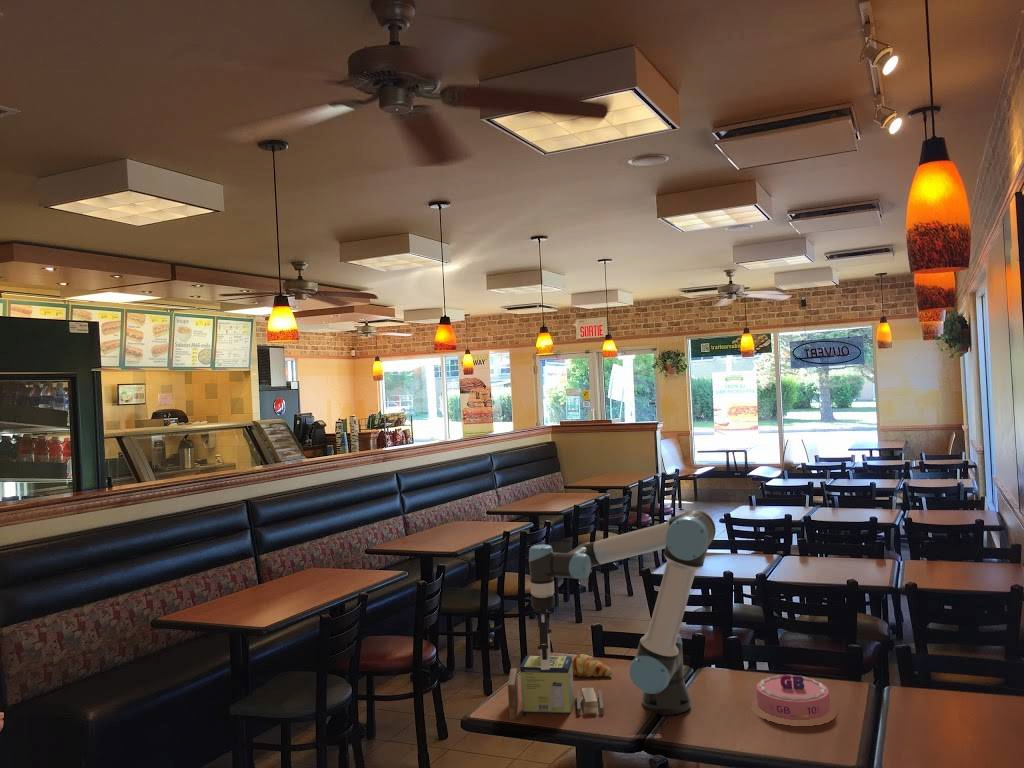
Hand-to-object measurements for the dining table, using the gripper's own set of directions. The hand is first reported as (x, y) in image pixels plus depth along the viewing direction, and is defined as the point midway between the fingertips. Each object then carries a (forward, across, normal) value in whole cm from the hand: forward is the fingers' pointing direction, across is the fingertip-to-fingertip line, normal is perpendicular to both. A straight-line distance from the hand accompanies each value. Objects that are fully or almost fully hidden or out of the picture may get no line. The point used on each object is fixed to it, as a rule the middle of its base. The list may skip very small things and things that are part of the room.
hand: (545, 661), depth 252 cm
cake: (+15, +5, +75) cm, 77 cm away
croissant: (+16, -30, +12) cm, 36 cm away
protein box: (+16, 0, 0) cm, 16 cm away
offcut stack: (+14, 0, +13) cm, 19 cm away
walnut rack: (+15, 0, +3) cm, 16 cm away
